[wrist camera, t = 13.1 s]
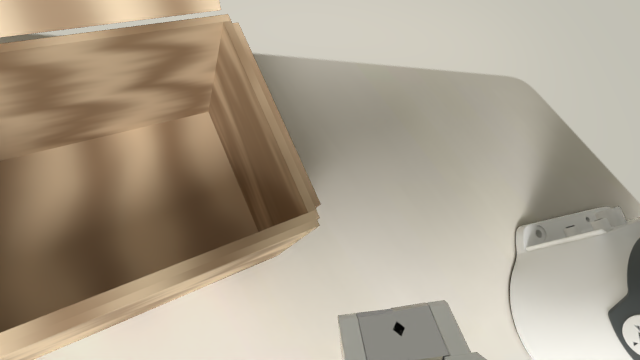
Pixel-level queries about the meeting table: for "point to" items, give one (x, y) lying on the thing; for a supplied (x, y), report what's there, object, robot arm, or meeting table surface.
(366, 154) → the meeting table surface
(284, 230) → the carton
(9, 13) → the carton flap
